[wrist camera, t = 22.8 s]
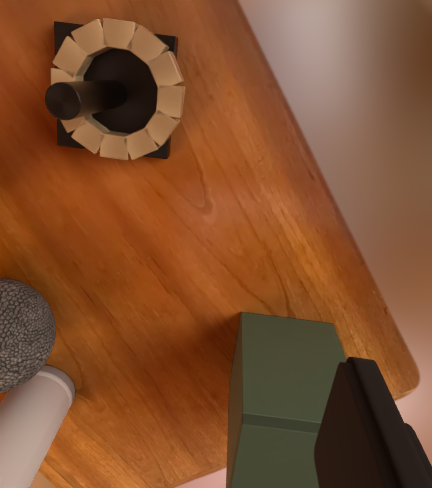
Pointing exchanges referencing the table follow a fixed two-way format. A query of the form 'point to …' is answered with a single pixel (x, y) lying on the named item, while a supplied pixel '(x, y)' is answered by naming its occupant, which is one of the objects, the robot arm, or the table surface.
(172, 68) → the ring
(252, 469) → the block
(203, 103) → the table surface
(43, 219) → the table surface
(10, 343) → the decorative ball
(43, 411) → the travel mug
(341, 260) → the table surface
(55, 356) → the table surface
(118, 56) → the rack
